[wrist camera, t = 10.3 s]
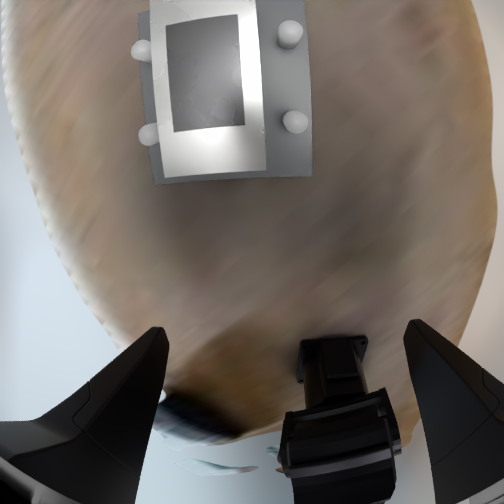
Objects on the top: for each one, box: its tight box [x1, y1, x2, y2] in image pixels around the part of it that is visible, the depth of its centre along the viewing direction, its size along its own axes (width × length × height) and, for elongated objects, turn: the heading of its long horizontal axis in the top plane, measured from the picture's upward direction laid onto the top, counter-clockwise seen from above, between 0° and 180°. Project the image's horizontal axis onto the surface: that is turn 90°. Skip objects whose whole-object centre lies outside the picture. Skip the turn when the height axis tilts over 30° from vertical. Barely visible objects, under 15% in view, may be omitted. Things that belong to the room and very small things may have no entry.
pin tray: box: [131, 0, 312, 185], centre depth 13 cm, size 12×10×3 cm
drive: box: [150, 0, 266, 178], centre depth 12 cm, size 9×4×5 cm, turn 3°
